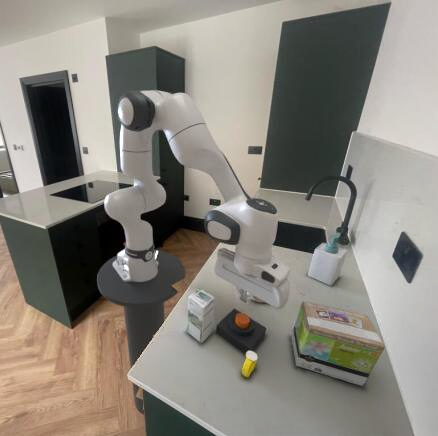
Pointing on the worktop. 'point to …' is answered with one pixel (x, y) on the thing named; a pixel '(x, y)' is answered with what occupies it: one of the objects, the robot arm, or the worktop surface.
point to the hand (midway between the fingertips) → (244, 300)
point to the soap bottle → (327, 261)
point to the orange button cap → (242, 320)
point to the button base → (240, 332)
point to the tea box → (335, 342)
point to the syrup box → (200, 314)
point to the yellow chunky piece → (249, 363)
